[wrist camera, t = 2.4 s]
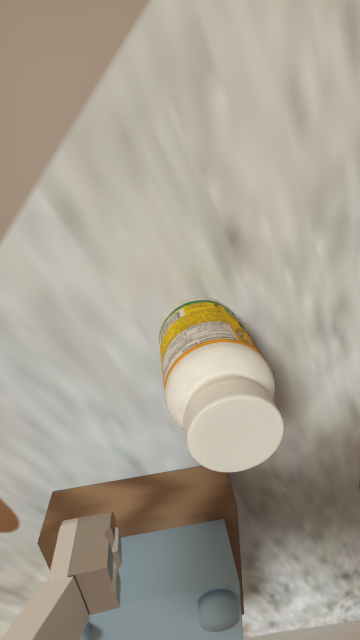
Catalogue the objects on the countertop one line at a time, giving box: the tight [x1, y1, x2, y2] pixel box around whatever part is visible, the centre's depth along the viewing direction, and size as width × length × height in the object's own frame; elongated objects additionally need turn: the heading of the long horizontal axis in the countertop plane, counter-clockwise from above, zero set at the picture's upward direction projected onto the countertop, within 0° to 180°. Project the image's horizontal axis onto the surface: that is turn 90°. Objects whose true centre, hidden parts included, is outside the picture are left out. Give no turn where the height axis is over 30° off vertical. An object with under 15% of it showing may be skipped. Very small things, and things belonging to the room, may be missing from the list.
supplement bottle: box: [159, 298, 284, 472], centre depth 17 cm, size 5×5×10 cm
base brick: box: [38, 466, 244, 615], centre depth 27 cm, size 14×14×4 cm
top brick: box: [79, 519, 243, 640], centre depth 23 cm, size 12×12×5 cm
